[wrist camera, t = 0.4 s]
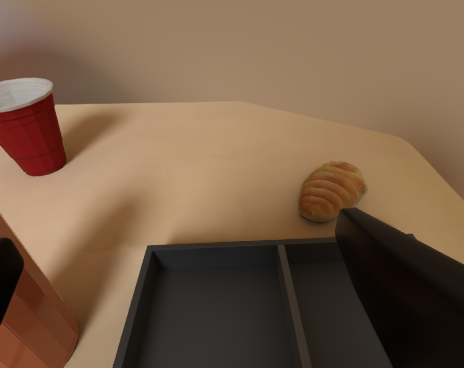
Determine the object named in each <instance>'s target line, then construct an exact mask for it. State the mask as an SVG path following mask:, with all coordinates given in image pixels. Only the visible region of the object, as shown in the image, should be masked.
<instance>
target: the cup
mask: <svg viewBox="0 0 464 368" xmlns="http://www.w3.org/2000/svg"><path fill="white" fill-rule="evenodd" d="M3 237H7V238H10V239H11V240H12V241H13V242H14V244H15V245H16V247H17V249H18V250H19V252H20V253H21V255H22V257H23V259H24V268H23V271H22V274H21V276H20V279H19V281H18V284H17V286H16V289H15V291H14V294H13V296H12V299H11V301H10V304H9V307H8V309H7V312H6V314H5V316H4V319H3V321H2V323H1V325H0V368H63V367H64V365H65V364H66V363H67V361H68V360H69V358H70V357H71V355H72V353H73V351H74V349H75V347H76V344H77V340H78V336H79V326H78V322H77V319H76V318H75V316H74V315H73V313H72V312H71V310H70V309H69V307H68V306H67V304H66V303H65V302H64V300H63V299H62V297H61V296H60V295H59V293H58V292H57V291H56V289H55V288H54V286H53V285H52V284H51V282H50V281H49V280H48V278H47V277H46V275H45V274H44V273H43V271H42V270H41V268H40V267H39V266H38V264H37V263H36V262H35V260H34V259H33V257H32V256H31V255H30V253H29V252H28V250H27V249H26V248H25V246H24V245H23V244H22V242H21V241H20V239H19V238H18V237H17V235H16V234H15V232H14V231H13V230H12V228H11V227H10V226H9V224H8V223H7V221H6V220H5V219H4V217H3V216H2V214H1V213H0V238H3Z"/></svg>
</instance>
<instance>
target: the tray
mask: <svg viewBox="0 0 464 368" xmlns="http://www.w3.org/2000/svg"><path fill="white" fill-rule="evenodd" d="M407 235H409V236H411V237H412V238H414V239H416V238H415V237H414V235H413V234H407ZM416 240H417V239H416ZM113 368H393V367H392V365H391V363H390V361H389V359H388V357H387V355H386V353H385V351H384V349H383V347H382V345H381V343H380V341H379V339H378V337H377V334H376V332H375V330H374V328H373V326H372V324H371V322H370V320H369V318H368V316H367V314H366V312H365V310H364V308H363V306H362V304H361V302H360V300H359V298H358V296H357V294H356V291H355V289H354V287H353V285H352V282H351V279H350V277H349V274H348V271H347V268H346V266H345V263H344V260H343V257H342V255H341V252H340V249H339V246H338V243H337V241H336V237H330V238H307V239H285V240H262V241H239V242H217V243H194V244H172V245H149V246H147V249H146V252H145V256H144V259H143V263H142V266H141V270H140V273H139V277H138V280H137V284H136V287H135V291H134V294H133V298H132V301H131V305H130V308H129V312H128V315H127V319H126V322H125V326H124V329H123V333H122V336H121V340H120V343H119V347H118V350H117V354H116V357H115V361H114V364H113Z"/></svg>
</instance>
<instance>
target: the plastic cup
mask: <svg viewBox="0 0 464 368" xmlns="http://www.w3.org/2000/svg"><path fill="white" fill-rule="evenodd" d="M52 90H53V83H52V82H50V81H49V80H47V79H41V78H20V79H14V80H6V81H2V82H0V146H1V147H2V148H3V149H4V150H5V151H6V152H7V154H8V155H9V156H10V157H11V158H13V159H14V160H15V162H16V163H17V164H18V165H19V166H20V167H21V169H22V170H23V171H24V172H26V173H27V174H28V175H31V176H42V175H46V174H50V173H52V172H55V171H57V170H58V169H60V168H62V167H63V166H64V165H65V163H66V155H65V151H64V147H63V143H62V136H61V132H60V128H59V124H58V120H57V116H56V112H55V108H54V106H55V105H54V101H53V95H52Z"/></svg>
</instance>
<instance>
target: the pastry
mask: <svg viewBox="0 0 464 368" xmlns="http://www.w3.org/2000/svg"><path fill="white" fill-rule="evenodd" d="M367 191H368V187H367V185H366V184H365V180H364V178H363V176H362V174H361V171H360V170H359V169H358V168H357V167H355V166H353V165H351V164H349V163H346V162H330V163H327V164H324V166H323V167H322V168H320V169H318V170H316V171H315V172H313V173H312V174H311V175H310V176H309V178H308V179H307V180H306V181H305V182H304V185H303V187H302V191H301V196H300V199H299V210H300V214H301V215H302V216H304V217H306V218H308V219H310V220H313V221H317V222H323V223H325V222H329V221H330V220H334V219H335V218H336V217H338V213H339V211H340V210H341V209H343V208H354V207H355V206H356V205H357V204H358V202H359V201H360V199H361V198H362V196H363V195H364V194H365V193H366V192H367Z"/></svg>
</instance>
